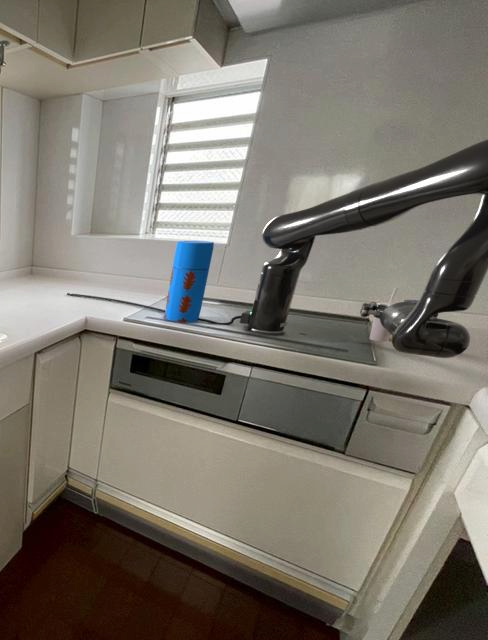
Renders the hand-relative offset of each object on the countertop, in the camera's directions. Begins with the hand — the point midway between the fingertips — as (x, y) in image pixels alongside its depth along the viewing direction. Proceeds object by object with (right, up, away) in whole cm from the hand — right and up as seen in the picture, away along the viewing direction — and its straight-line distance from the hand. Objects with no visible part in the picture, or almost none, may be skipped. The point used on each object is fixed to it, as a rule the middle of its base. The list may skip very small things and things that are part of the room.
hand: (388, 307), depth 108 cm
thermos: (-41, +1, +30) cm, 51 cm away
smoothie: (-1, -9, +2) cm, 9 cm away
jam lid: (+10, +1, +1) cm, 10 cm away
